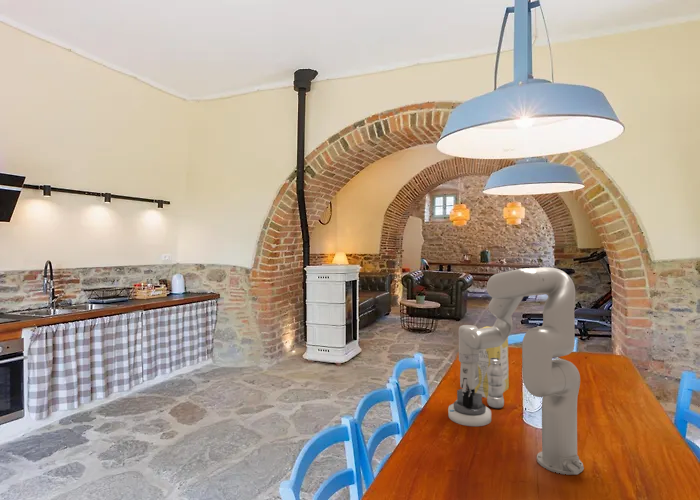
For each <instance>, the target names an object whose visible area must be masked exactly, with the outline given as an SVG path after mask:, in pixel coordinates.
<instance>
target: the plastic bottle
mask: <svg viewBox="0 0 700 500" xmlns="http://www.w3.org/2000/svg"><path fill="white" fill-rule="evenodd" d="M490 363H491V364H490V366H489V367H488V368H487V377H488V396H487V398H486V402H487V405H488V406H489V407H490V408H492V409H502V408H503V407H504V405H505V399H504V393H503V392H502V381H503V370H502V368H501V367H500V365H499V364H500V359H499V358H490Z"/></svg>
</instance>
